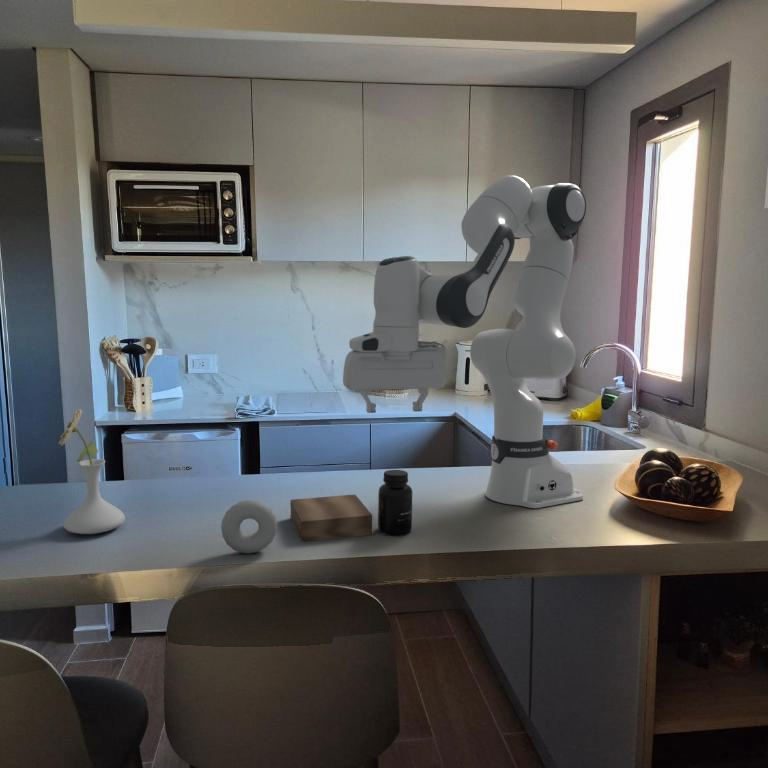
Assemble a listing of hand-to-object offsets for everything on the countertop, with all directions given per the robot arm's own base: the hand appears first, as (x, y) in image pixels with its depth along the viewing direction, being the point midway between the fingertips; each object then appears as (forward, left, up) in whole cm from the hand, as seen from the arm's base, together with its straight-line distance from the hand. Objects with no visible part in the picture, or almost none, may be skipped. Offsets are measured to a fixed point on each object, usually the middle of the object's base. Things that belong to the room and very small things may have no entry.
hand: (394, 411), depth 132 cm
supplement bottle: (0, 0, -24) cm, 24 cm away
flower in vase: (+58, -16, -24) cm, 65 cm away
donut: (+29, +4, -24) cm, 38 cm away
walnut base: (+12, -6, -24) cm, 27 cm away
